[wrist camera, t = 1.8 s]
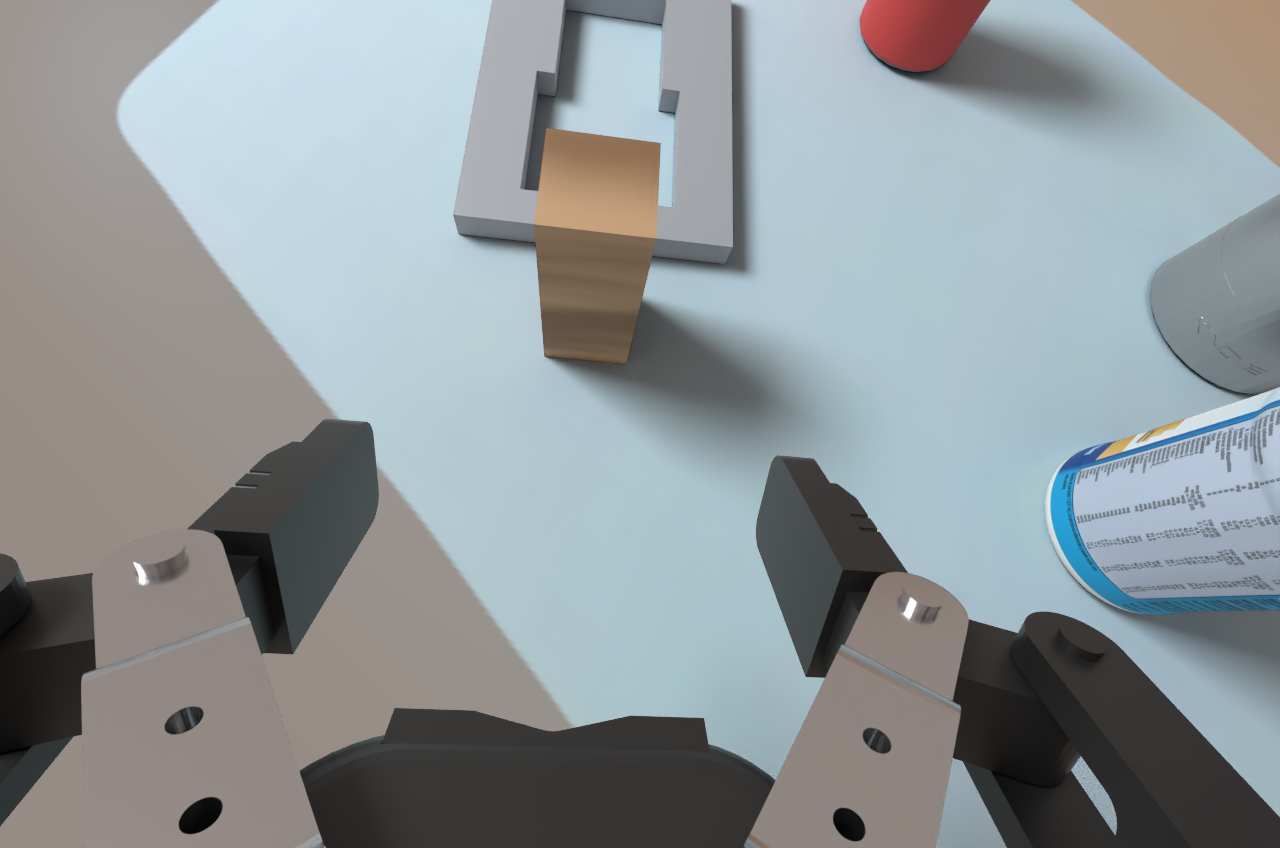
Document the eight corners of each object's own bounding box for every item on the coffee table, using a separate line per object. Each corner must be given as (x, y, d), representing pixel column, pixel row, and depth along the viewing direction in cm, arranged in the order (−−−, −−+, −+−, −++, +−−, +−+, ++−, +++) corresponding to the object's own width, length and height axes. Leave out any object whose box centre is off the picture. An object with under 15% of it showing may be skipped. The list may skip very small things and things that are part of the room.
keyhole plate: (725, 264, 31) (733, 247, 30) (458, 233, 30) (453, 214, 28) (724, 0, 38) (731, -24, 36) (506, -35, 36) (503, -61, 35)
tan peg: (626, 364, 29) (656, 238, 19) (544, 356, 28) (533, 224, 19) (630, 293, 30) (660, 143, 20) (552, 284, 29) (546, 128, 20)
